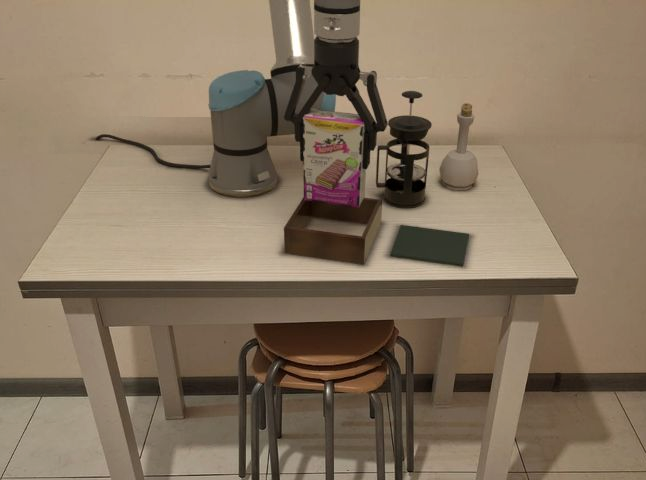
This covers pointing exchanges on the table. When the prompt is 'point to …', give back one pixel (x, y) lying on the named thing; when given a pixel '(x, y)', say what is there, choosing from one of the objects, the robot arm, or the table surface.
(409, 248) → the mat
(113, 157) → the table surface
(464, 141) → the potion bottle
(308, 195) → the candy bar box
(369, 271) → the table surface
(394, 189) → the french press
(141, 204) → the table surface
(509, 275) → the table surface
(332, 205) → the crate
